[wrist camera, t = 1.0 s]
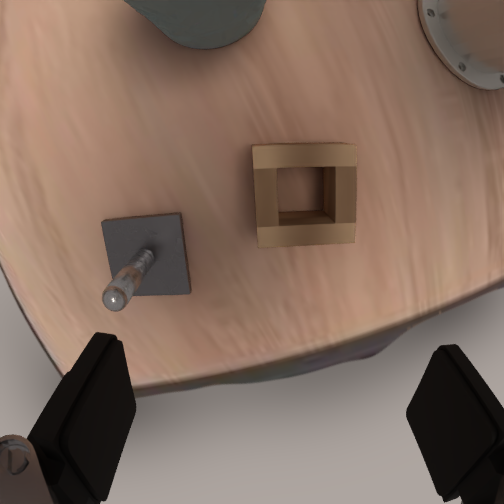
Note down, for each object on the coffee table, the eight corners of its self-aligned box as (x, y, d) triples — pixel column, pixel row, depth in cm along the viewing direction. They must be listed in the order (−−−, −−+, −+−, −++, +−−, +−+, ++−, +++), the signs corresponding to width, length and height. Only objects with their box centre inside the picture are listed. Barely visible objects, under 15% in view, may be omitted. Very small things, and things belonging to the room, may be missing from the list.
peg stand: (181, 212, 26) (151, 249, 18) (191, 289, 28) (171, 349, 20) (104, 219, 26) (53, 255, 18) (119, 292, 28) (81, 346, 20)
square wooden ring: (340, 142, 24) (356, 144, 20) (340, 227, 26) (354, 242, 23) (251, 144, 24) (252, 146, 20) (256, 231, 27) (257, 248, 23)
